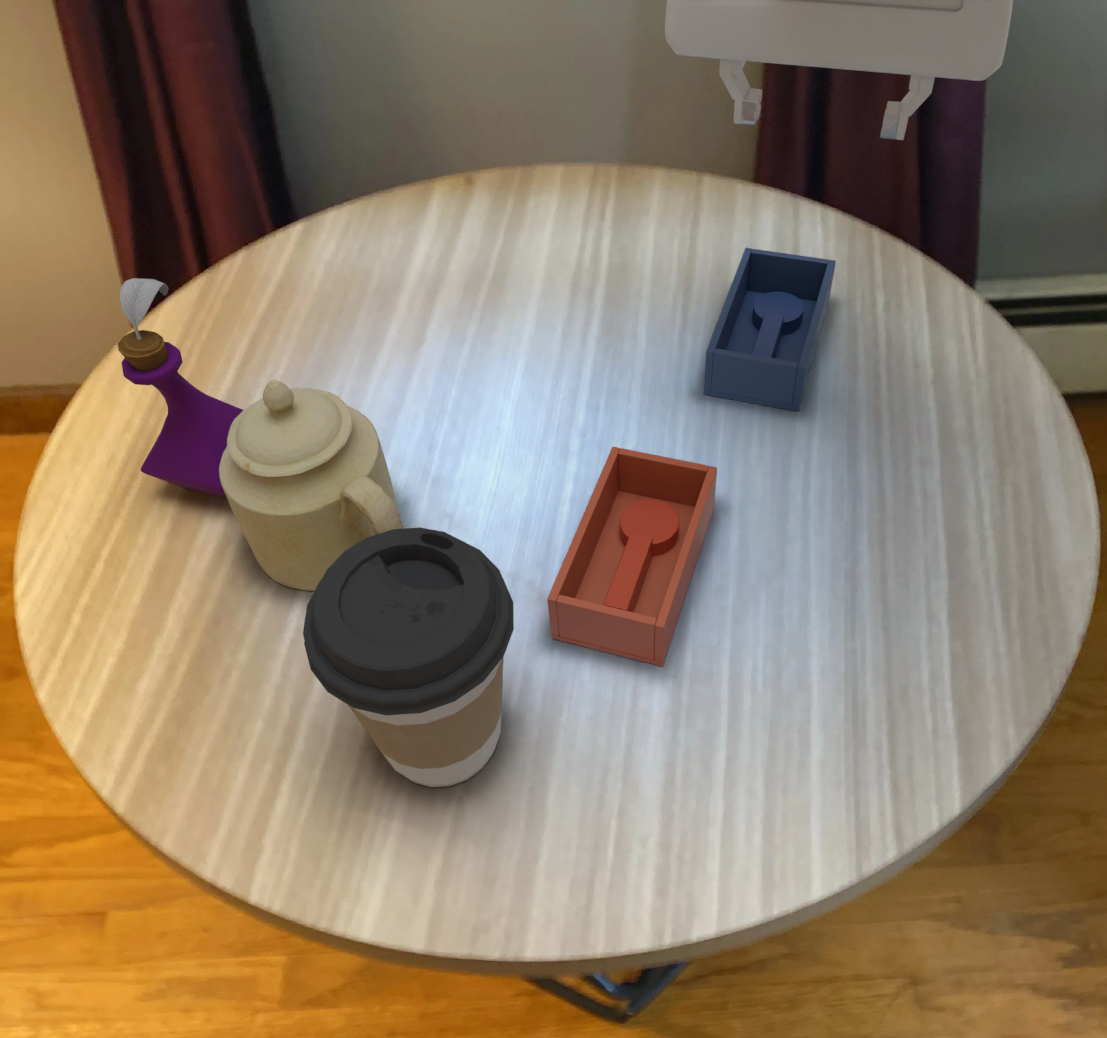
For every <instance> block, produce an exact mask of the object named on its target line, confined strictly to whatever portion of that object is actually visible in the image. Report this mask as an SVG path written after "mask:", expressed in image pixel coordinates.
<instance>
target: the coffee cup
mask: <svg viewBox="0 0 1107 1038" xmlns="http://www.w3.org/2000/svg"><path fill="white" fill-rule="evenodd" d="M514 624H515V623H514V600H513V598H512V596H511V594H510V591H509V589H508V586H507V584H506V581H505V579H504V577H503V576H502V573H501V570H500V569H499V568H498V567H497V566H496V564H495V563H494V562H493V561H491V559H490V558H488V556H487V555H485V553H484V552H483V551H482V550H481V549H479V548H477V547H475V546H473V545H471V544H470V543H467V542H465V541H464V540H462V539H460V538H458V537H455V536H453V535H451V534H449V533H447V532H446V531H441V530H437V529H436V530H435V529H431V528H430V529H429V528H426V527H419V526H418V527H406V528H404V527H403V529H392V530H389V531H386V532H383V533H380V534H376V535H373V536H370V537H367V538H366V539H364V540H362V541H361V542H359V543H357V544H356V545H354V546H352V547H351V548H349V549H347V550H345V551H344V552H343V553H342V554H341V555H340V556H339V557H338V558H337V559H336V560H335V561H334V562H333V563H332V564H331V566H330V567H329V568H328V569H327V570H326V572H325V574H324V576H323V578H322V579H321V580H320V582H319V584H318V586H317V587H316V589H315V591H313V593H312V595H311V597H310V599H309V601H308V603H307V605H306V610H305V617H304V624H303V629H302V636H303V639H304V641H303V644H304V648H305V653H306V657H307V661H308V665H309V668H310V671H311V672H312V674H313V675H314V676H315V678H316V679H317V680H318V682H320V684H321V685H322V687H323V688H324V689H325V691H326V692H327V693H328V694H330V695H332V697H335V698H336V699H338V700H339V701H341V702H342V703H345V704H346V705H347V706H348V707H349V709H350V710H351V711H352V713H353V714H354V717H356V719H357V720H358V721H359V723H360V724H361V726H362V727H363V728H364V730H365V731H366V733H367V734H368V735H369V737H370V739H371V740H372V741H373V743H375V745H376V747H377V748H378V749H379V750H380V752H381V753H382V755H383V756H384V758H385V759H386V760H387V762H388V763H389V765H390V766H391V767H392V769H394V771H395V772H397V773H399V774H400V775H402V776H403V777H405V778H406V779H408V780H410V781H411V782H413V783H415V784H417V785H422V786H425V787H429V788H441V787H442V788H443V787H451V786H454V785H457V784H459V783H463V782H465V781H468V780H469V779H470V778H472V777H473V776H475V775H477V773H479V772H480V771H482V770H483V769H484V767H485V766H486V764H487V763H488V762H489V760H490V759H491V758H492V757H493V754H494V751H495V750H496V747H497V744H498V742H499V738H500V736H501V732H502V707H503V681H504V679H503V678H504V657H505V655H506V651H507V649H508V645H509V643H510V640H511V638H512V635H513V632H514V627H515V625H514Z"/></svg>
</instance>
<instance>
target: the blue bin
mask: <svg viewBox="0 0 1107 1038" xmlns="http://www.w3.org/2000/svg"><path fill="white" fill-rule="evenodd" d="M836 264H837V262H836V260H835V259H827V258H820V257H813V256H807V255H799V254H792V253H785V252H778V251H773V250H772V251H771V250H765V249H756V248H751V247H745V248H744V251H743V253H742V256H741V259H740V261H739V264H738V267H737V268H736V271H735V275H734V277H733V280H732V282H731V285H730V288H729V290H728V293H727V296H726V298H725V301H724V303H723V305H722V309H721V311H720V314H719V317H718V319H717V322H716V324H715V327H714V330H713V332H712V335H711V338H710V340H709V343H708V347H707V348H706V351H705V363H704V365H705V366H704V379H703V381H704V382H703V395H706V396H712V397H717V398H722V399H726V400H727V399H728V400H733V401H740V402H745V403H750V404H754V405H761V406H766V407H773V408H778V409H783V410H789V411H794V412H799V411H800V409H801V405H802V401H803V397H804V393H805V391H806V386H807V383H808V380H809V376H810V372H811V368H812V365H813V362H814V357H815V356H816V355H815V354H816V350H817V347H818V343H819V340H820V336H821V333H822V329H823V325H824V321H825V319H826V315H827V311H828V307H829V304H830V298H831V294H832V287H833V282H834V281H833V280H834V275H835V270H836ZM769 292H785V293H789V294H792V295H794V296H796V297H797V298H799V299H800V300H801V302H802V303H803V306H804V310H803V317H802V323H801V326H800V327H799V328H798V329H797V330H796V331H794V332H792V333H790V334H786V335H782V336H781V340H780V343H779V346H778V350H777V353H776V356H775V358H769V357H763V356H757V355H752V352H753V349H754V346H755V343H756V339H757V336H758V333H759V330H758V329H757V328H756V327H755V326H754V324H753V322H752V314H753V305H754V302H755V300H756V299H757V298H758V297H759V296H761V295H763V294H766V293H769Z"/></svg>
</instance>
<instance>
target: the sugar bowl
mask: <svg viewBox="0 0 1107 1038" xmlns="http://www.w3.org/2000/svg"><path fill="white" fill-rule="evenodd" d="M263 389H264V390H263V391H262V398H260V399H258V400H257V401H255V402H254V403H252V404H250V405H249V406H247V407H245V408H244V409H243V411H242V412H241V413H240V414H239V415H238V416H237V417H236V418H235V419H234V421H233V423H232V424H231V426H230V430H229V434H228V438H227V447H226V449H225V451H224V452H223V455H222V458H221V462H220V466H219V477H220V481H221V485H222V487H223V490H224V492H225V494H226V497H227V498H226V499H227V501H228V503H229V506H230V509H231V511H232V513H233V515H234V517H235V519H236V521H237V523H238V526H239V528H240V529H241V531H242V533H243V535H244V536H243V537H245V540H246V541H247V544H248V546H249V547H250V549H251V552H252V554H253V555H254V557H255V560H256V561H257V563H258V565H259V566H260V568H261V569H262V570H263V571H264V573H265V574H266V575H267V576H268V577H269V578H271V579H272V581H275V582H277V583H278V584H280V585H283V586H285V587H287V588H291V589H295V590H300V591H311V592H314V591H315V589H316V587H317V586H318V584H319V582H320V580H321V579H322V578H323V576H324V574H325V572H326V570H327V569H328V568H329V567H330V566H331V564H332V563H333V562H334V561H335V560H336V559H337V558H338V557H339V556H340V555H341V554H342V553H343V552H344V551H345V550H347V549H349V548H351V547H352V546H354V545H356V544H357V543H359V542H361V541H362V540H364V539H366V538H367V537H370V536H373V535H376V534H380V533H383V532H386V531H389V530H392V529H403V528H404V525H403V523H402V520H401V516H400V511H399V508H398V503H397V498H396V495H395V491H394V486H393V483H392V478H391V475H390V472H389V471H390V470H389V467H388V464H387V461H386V457H385V455H384V451H383V448H382V444H381V441H380V438H379V435H378V431H377V429H376V428H375V426H374V424H373V423H372V422H371V420H370V419H369V417H367V416H366V415H365V414H364V413H362V412H361V411H359V410H357V409H356V408H354V407H352V406H349V405H347V403H346V402H345V401H344V400H343V399H341V398H340V397H339V396H338V395H336V394H335V393H332V392H330V391H325V390H322V389H319V388H310V387H294V388H290V387H289V386H288V385H287V384H286V383H284V382H282V381H279V380H276V379H272V380H269V381H268V382H267V384H266V385H265V386H264V388H263Z"/></svg>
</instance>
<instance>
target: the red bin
mask: <svg viewBox="0 0 1107 1038" xmlns="http://www.w3.org/2000/svg"><path fill="white" fill-rule="evenodd" d="M717 474H718V467H717V466H712V465H707V464H703V463H698V462H694V461H689V460H687V461H686V460H683V459H678V458H673V457H667V456H662V455H657V454H652V453H647V452H643V451H638V450H632V449H627V448H623V447H618V446H611V448H610V452H609V453H608V455H607V458H606V461H605V462H604V465H603V467H602V470H601V472H600V475H599V477H598V479H597V482H596V484H595V486H594V489H593V490H592V493H591V495H590V497H589V500H588V502H587V505H586V507H585V510H584V512H583V514H582V516H581V519H580V521H579V524H578V526H577V528H576V530H575V533H574V536H573V538H572V540H571V543H570V545H569V547H568V550H567V552H566V554H565V556H564V559H563V561H562V564H561V565H560V568H559V571H558V573H557V574H556V577H555V580H554V582H553V584H552V587H551V590H550V591H549V594H548V595H547V599H546V600H547V607H548V608H547V609H548V616H549V624H550V633H551V639H552V640H557V641H561V642H564V643H568V644H572V645H575V646H579V647H584V648H588V649H592V650H596V651H599V652H604V653H607V654H611V655H616V656H619V657H623V658H626V659H627V658H628V659H632V660H635V661H640V662H643V663H647V664H651V665H655V666H659V667H664V665H665V661H666V659H667V655H668V652H669V649H670V646H671V643H672V640H673V637H674V633H675V631H676V628H677V624H678V622H679V618H680V616H681V612H682V609H683V606H684V603H685V601H686V598H687V597H686V596H687V593H688V591H689V587H690V584H691V582H692V579H693V576H694V573H695V569H696V567H697V566H696V565H697V562H698V559H699V557H700V554H701V550H702V548H703V545H704V541H705V538H706V535H707V532H708V530H709V527H710V526H709V525H710V523H711V519H712V517H713V513H714V511H715V502H716V501H715V500H716V488H717ZM645 499H654V500H659V501H662V502H665V503H667V504H668V505H670V506H671V507H672V508H673V509H674V510H675V511H676V513H677V515H678V517H679V536H678V540H677V542H676V544H675V545H674V546H673V547H672V548H671V549H670V550H669V551H667V552H665V553H663V554H660V555H656V556H652V560H651V563H650V566H649V568H648V571H647V574H646V577H645V580H644V583H643V586H642V588H641V591H640V594H639V597H638V600H637V603H636V605H635V608H634V611H633V612H630V611H625V610H621V609H617V608H613V607H609V606H605V605H604V602H605V600H606V597H607V594H608V592H609V589H610V586H611V584H612V581H613V578H614V576H615V573H616V570H617V568H618V565H619V562H620V560H621V557H622V554H623V552H624V549H625V545H624V544H623V542H622V540H621V538H620V517H621V514H622V512H623V511H624V510H625V508H626V507H628V506H629V505H630V504H632V503H634V502H636V501H640V500H645Z"/></svg>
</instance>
